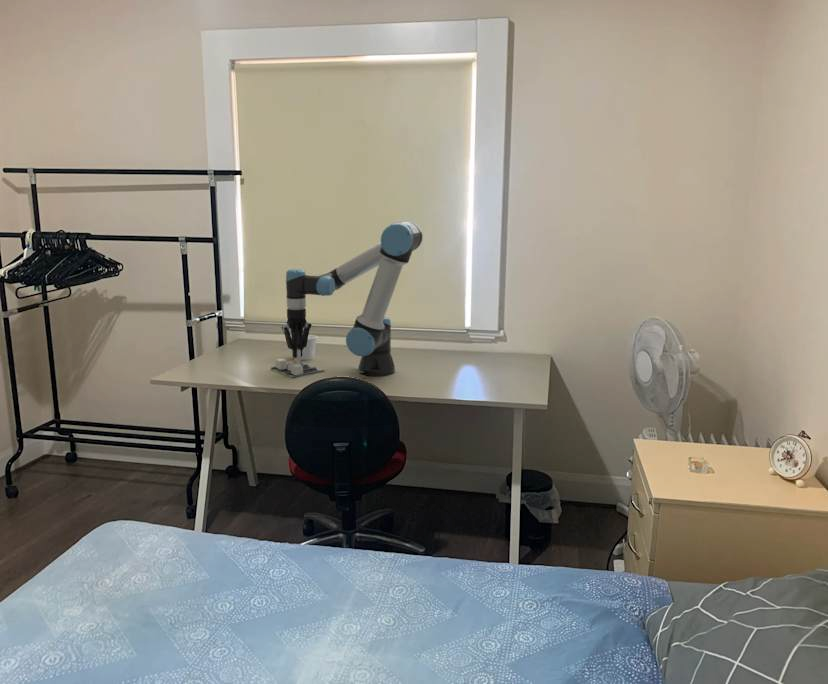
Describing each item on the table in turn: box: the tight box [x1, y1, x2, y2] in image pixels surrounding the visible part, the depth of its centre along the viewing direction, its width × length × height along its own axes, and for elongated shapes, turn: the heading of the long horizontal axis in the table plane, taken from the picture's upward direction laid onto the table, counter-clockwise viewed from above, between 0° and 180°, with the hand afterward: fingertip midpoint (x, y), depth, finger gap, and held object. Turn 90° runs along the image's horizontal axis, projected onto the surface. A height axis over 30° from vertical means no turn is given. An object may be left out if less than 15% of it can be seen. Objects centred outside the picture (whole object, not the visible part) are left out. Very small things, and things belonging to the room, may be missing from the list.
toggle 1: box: [274, 358, 288, 369], centre depth 284 cm, size 4×3×4 cm
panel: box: [269, 362, 327, 379], centre depth 283 cm, size 18×16×2 cm
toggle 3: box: [291, 364, 303, 375], centre depth 276 cm, size 4×3×4 cm
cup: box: [297, 334, 318, 361], centre depth 302 cm, size 10×10×11 cm
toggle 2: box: [287, 359, 299, 371], centre depth 281 cm, size 4×3×4 cm
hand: (297, 364), depth 283 cm, fingers closed
